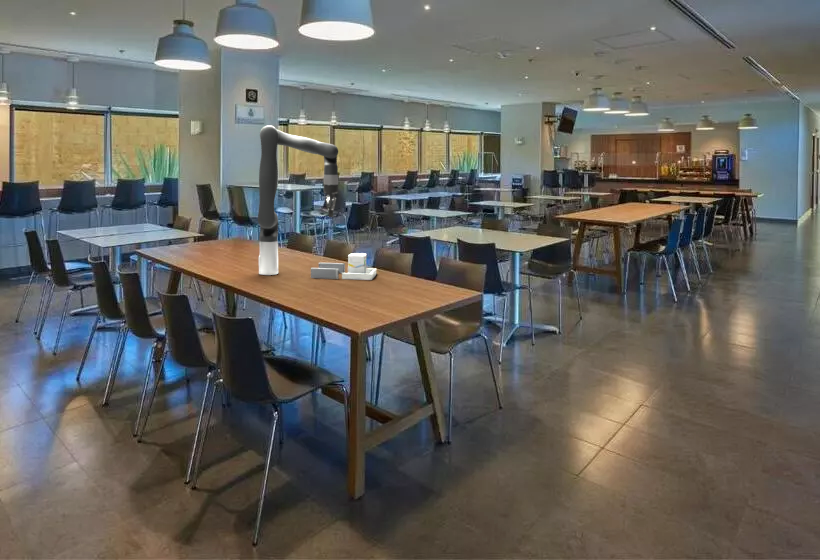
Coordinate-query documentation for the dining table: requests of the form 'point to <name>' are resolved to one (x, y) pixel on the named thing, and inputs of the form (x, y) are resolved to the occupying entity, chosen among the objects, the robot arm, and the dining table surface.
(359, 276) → the tray frame
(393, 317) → the dining table surface
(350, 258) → the ink box
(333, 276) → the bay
